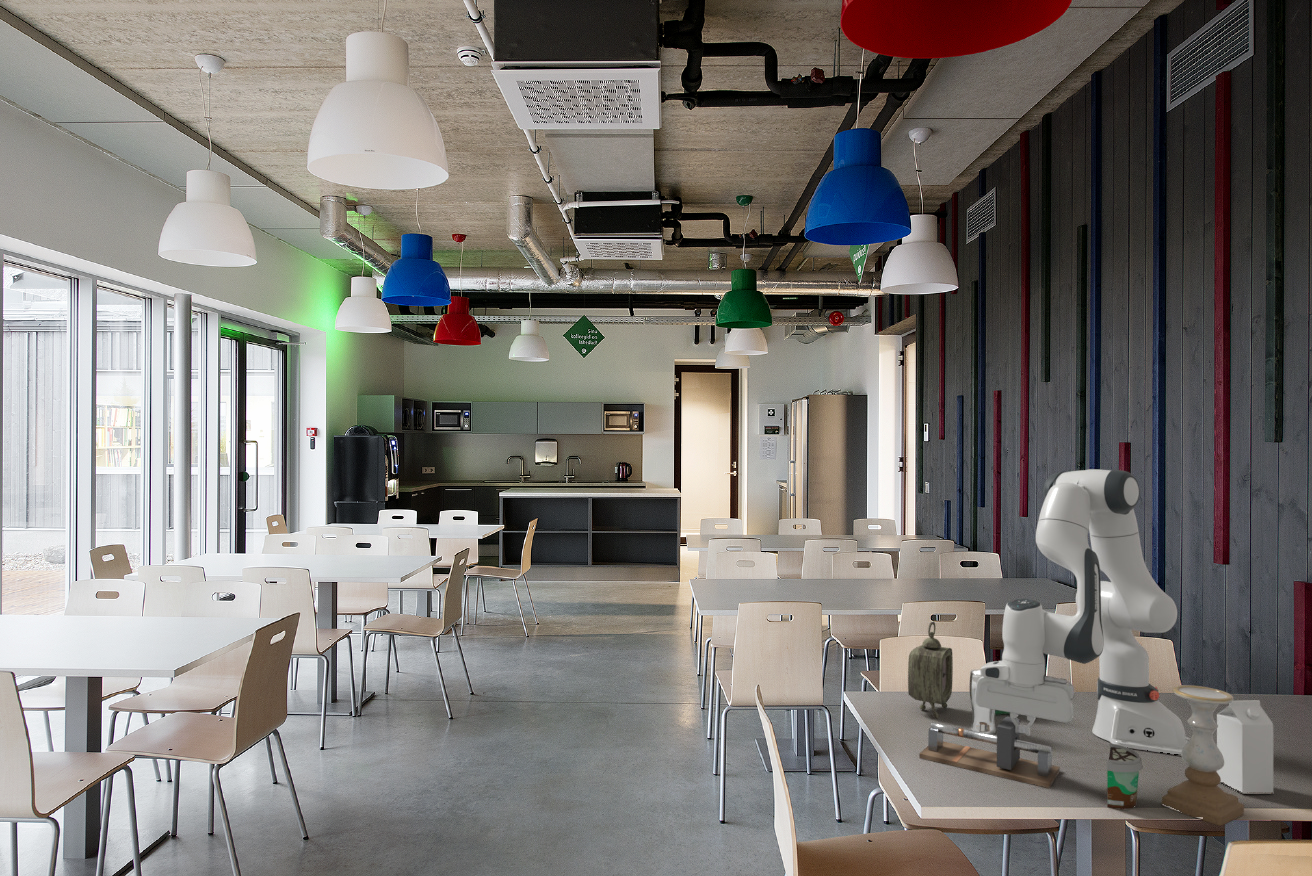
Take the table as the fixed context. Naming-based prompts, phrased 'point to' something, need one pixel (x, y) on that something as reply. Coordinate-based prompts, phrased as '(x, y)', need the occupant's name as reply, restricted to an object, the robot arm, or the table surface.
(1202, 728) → the candle holder
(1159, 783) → the table surface
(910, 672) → the tabletop clock
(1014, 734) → the collar
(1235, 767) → the milk carton
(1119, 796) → the food container
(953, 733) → the linear slide rail
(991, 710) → the beer glass
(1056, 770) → the board
